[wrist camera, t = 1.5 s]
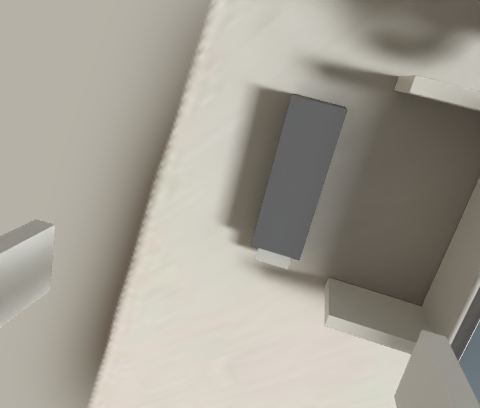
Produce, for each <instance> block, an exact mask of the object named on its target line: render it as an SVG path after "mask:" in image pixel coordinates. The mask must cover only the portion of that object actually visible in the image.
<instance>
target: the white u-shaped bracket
mask: <svg viewBox="0 0 480 408" xmlns="http://www.w3.org/2000/svg"><path fill="white" fill-rule="evenodd" d="M394 91H398V92H403V93H407V94H411V95H415V96H419V97H423V98H427V99H431V100H435V101H439V102H443V103H447V104H451V105H455V106H459V107H463V108H467V109H471V110H475V111H479V112H480V91H478V90H473V89H469V88H465V87H461V86H457V85H453V84H449V83H445V82H441V81H437V80H432V79H428V78H424V77H420V76H416V75H415V76H399V77H398V80H397V83H396V86H395V89H394ZM479 287H480V177H479V179H478V182H477V184H476V186H475V188H474V191H473V193H472V195H471V197H470V200H469V202H468V204H467V206H466V208H465V211H464V213H463V215H462V217H461V220H460V222H459V224H458V226H457V229H456V231H455V233H454V235H453V237H452V240H451V242H450V244H449V246H448V249H447V251H446V253H445V255H444V258H443V260H442V262H441V264H440V266H439V269H438V271H437V273H436V275H435V278H434V280H433V282H432V284H431V287H430V289H429V291H428V293H427V295H426V298H425V300H424V302H423V304H422V306H419V305H416V304H413V303H409V302H406V301H403V300H400V299H396V298H393V297H390V296H387V295H384V294H380V293H377V292H374V291H371V290H367V289H364V288H361V287H358V286H354V285H351V284H348V283H345V282H341V281H338V280H335V279H332V278H328V280H327V283H326V286H325V327H329V328H332V329H335V330H338V331H341V332H344V333H347V334H350V335H353V336H356V337H360V338H363V339H366V340H369V341H372V342H375V343H378V344H381V345H384V346H387V347H390V348H394V349H397V350H400V351H403V352H406V353H409V354H412V352H413V350H414V348H415V345H416V343H417V340H418V338H419V336H420V333H421V331H422V330H425V331H428V332H432V333H435V334H439V335H442V336H446V338H447V340H448V342H449V344H450V345H451V343H452V341H453V339H454V337H455V335H456V333H457V331H458V329H459V327H460V325H461V323H462V321H463V319H464V317H465V315H466V313H467V311H468V309H469V307H470V305H471V303H472V301H473V299H474V297H475V295H476V293H477V291H478V289H479Z"/></svg>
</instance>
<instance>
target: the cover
mask: <svg viewBox="0 0 480 408" xmlns="http://www.w3.org/2000/svg"><path fill="white" fill-rule="evenodd" d="M479 319H480V287H479V289H478V291H477V293H476V295H475V297H474V299H473V301H472V303H471V305H470V307H469V309H468V311H467V313H466V315H465V317H464V319H463V321H462V323H461V325H460V327H459V329H458V331H457V333H456V335H455V337H454V339H453V341H452V343H451V345H450V346H451V348H452V350H453V352H454V354H455V356H456V358H457V360H458V361H459V359H460V357H461V355H462V353H463V351H464V349H465V347H466V345H467V343H468V341H469V339H470V337H471V335H472V333H473V331H474V329H475V327H476V325H477V323H478V321H479ZM459 364H460V366H461V368H462V370H463V372H464V374H465V376H466V378H467V381H468V383H469V385H470V387H471V389H472V391H473V393H474V395H475V397H476V399H477V401H478V403H479V405H480V322H479V324H478V326H477V328H476V330H475V332H474V334H473V336H472V338H471V340H470V342H469V344H468V345H467V347H466V349H465V351H464V353H463V355H462V357H461V359H460V361H459Z"/></svg>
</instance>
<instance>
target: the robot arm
mask: <svg viewBox="0 0 480 408" xmlns="http://www.w3.org/2000/svg"><path fill="white" fill-rule="evenodd" d="M54 230H55V225H53V224H50V223H47V222H43V221H40V220H34V221H31V222H30V223H28V224H25V225H23V226H21V227H19V228H17V229H15V230H12V231H10V232H8V233H6V234H4V235H2V236H0V328H1V327H3V326H4V325H5V324H7V323H8V322H9V321H11V320H12V319H13V318H14V317H16V316H17V315H19V314H20V313H21V312H22V311H24V310H25V309H26V308H28V307H29V306H30V305H32V304H33V303H34V302H36V301H37V300H38V299H39V298H41V297H42V296H44V295H45V294H46V293H48V292H49V291H50V289H51V275H52V274H51V273H52V260H53V245H54ZM394 397H395V401H396V405H397V408H480V405H479V403H478V401H477V399H476V397H475V395H474V393H473V391H472V389H471V387H470V385H469V383H468V381H467V378H466V376H465V374H464V372H463V370H462V368H461V366H460V364H459V362H458V360H457V358H456V356H455V354H454V352H453V350H452V348H451V346H450V344H449V342H448V340H447V338H446V336H442V335H439V334H435V333H432V332H428V331H425V330H422V331H421V333H420V336H419V338H418V340H417V343H416V345H415V348H414V350H413V352H412V355H411V357H410V360H409V362H408V364H407V367H406V369H405V372H404V374H403V377H402V379H401V381H400V384H399V386H398V389H397V391H396V393H395V396H394Z"/></svg>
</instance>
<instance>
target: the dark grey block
mask: <svg viewBox="0 0 480 408" xmlns="http://www.w3.org/2000/svg"><path fill="white" fill-rule="evenodd" d="M346 112H347V108H346V107H344V106H340V105H336V104H332V103H328V102H324V101H320V100H316V99H312V98H308V97H305V96H301V95H297V94H293V95H291V99H290V102H289V106H288V110H287V113H286V117H285V121H284V124H283V128H282V132H281V136H280V139H279V143H278V147H277V150H276V154H275V158H274V162H273V165H272V169H271V173H270V176H269V180H268V184H267V188H266V191H265V195H264V199H263V202H262V206H261V210H260V214H259V217H258V221H257V225H256V228H255V232H254V236H253V239H252V243H251V246H253V247H257V248H258V251H257V255H256V259H255V260H258V261H261V262H264V263H268V264H271V265H274V266H277V267H281V268H284V269H287V270H288V268H289V265H290V262H291V258H293V259H296V260H300V257H301V254H302V250H303V247H304V244H305V241H306V238H307V235H308V232H309V228H310V225H311V222H312V219H313V216H314V213H315V210H316V206H317V203H318V200H319V197H320V194H321V191H322V187H323V184H324V181H325V178H326V175H327V172H328V169H329V165H330V162H331V159H332V156H333V153H334V150H335V146H336V143H337V140H338V137H339V134H340V131H341V128H342V124H343V121H344V118H345V115H346Z"/></svg>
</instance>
